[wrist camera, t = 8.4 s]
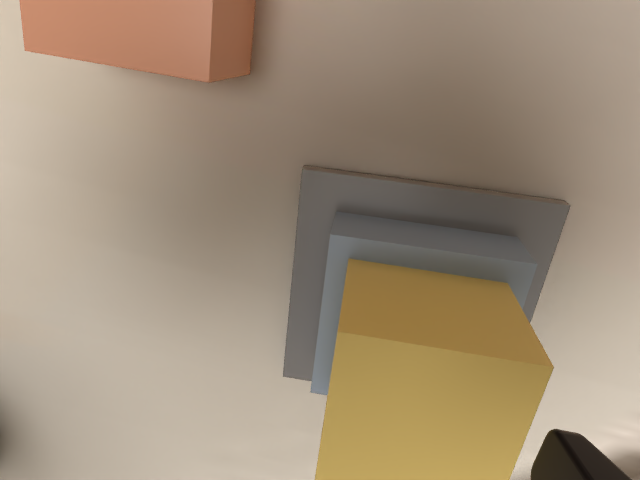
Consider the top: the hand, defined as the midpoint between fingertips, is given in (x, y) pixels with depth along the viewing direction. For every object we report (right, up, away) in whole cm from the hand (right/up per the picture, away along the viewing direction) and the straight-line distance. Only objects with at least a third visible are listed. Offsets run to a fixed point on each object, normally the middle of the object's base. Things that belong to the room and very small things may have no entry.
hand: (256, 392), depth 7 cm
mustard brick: (+4, -1, +10) cm, 11 cm away
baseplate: (+5, 0, +12) cm, 13 cm away
